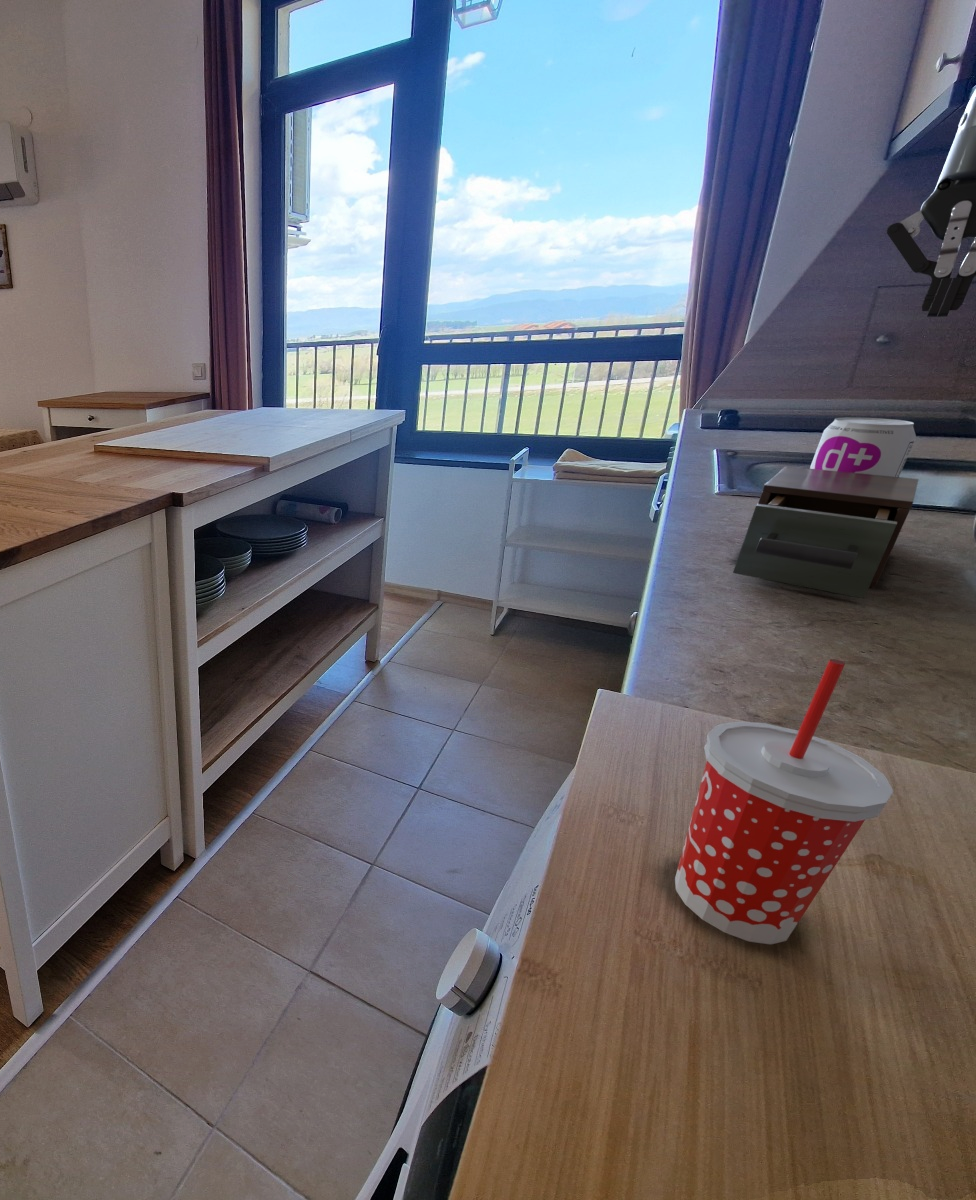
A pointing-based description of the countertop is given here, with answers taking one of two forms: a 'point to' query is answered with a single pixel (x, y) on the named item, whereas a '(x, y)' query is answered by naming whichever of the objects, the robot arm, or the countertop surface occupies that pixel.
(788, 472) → the cabinet
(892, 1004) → the countertop surface
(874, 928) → the countertop surface
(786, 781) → the beverage cup
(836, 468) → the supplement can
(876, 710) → the countertop surface
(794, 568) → the drawer
